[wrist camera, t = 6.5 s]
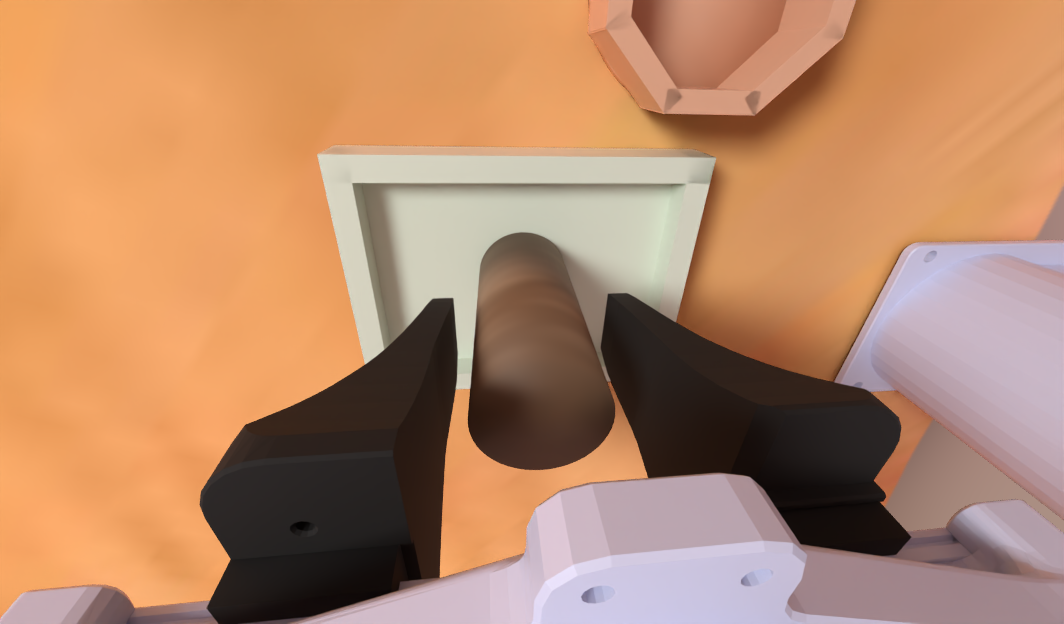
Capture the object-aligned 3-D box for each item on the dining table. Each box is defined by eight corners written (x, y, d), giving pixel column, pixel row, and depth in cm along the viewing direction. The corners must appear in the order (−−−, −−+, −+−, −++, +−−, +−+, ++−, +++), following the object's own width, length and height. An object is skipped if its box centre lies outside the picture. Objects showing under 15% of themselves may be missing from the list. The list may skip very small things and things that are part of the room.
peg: (570, 235, 15) (629, 364, 8) (558, 312, 16) (600, 470, 10) (481, 229, 14) (469, 358, 8) (477, 308, 16) (466, 469, 10)
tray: (693, 149, 14) (716, 158, 13) (649, 356, 19) (662, 378, 18) (334, 145, 13) (317, 154, 12) (380, 368, 18) (371, 393, 16)
